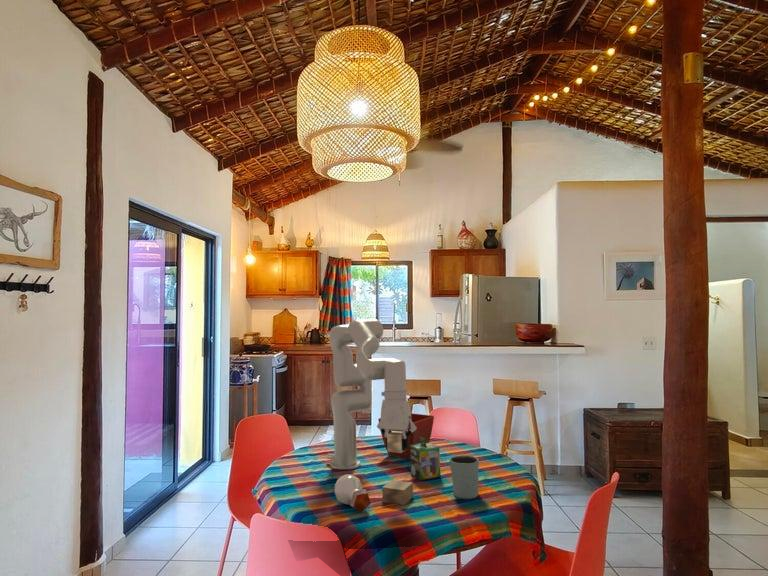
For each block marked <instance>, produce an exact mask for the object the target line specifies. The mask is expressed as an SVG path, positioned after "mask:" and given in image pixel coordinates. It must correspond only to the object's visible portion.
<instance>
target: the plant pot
mask: <svg viewBox="0 0 768 576" xmlns="http://www.w3.org/2000/svg"><path fill="white" fill-rule="evenodd" d="M434 418H435V415H429V414H421V413H412V412H411V421H412V422H413V423H414V425H415V426H416V427H417V429H416V430H415V431H414V432H413V433H412V434H411V435H410V436H409V437H408V448H407V449H406V450H405V451H403V452H402V453H396V452H388V450H387V446H386V437H385V436H384V434H383V433H382V432H381V430H379V431H380V435H381V438H382V441H383V444H384V447H385V450H386V452H387V455H388V456H390V457H394V458H395V457H396V458H402V459H407V460H410V445H415V444H421V442H420V439H419V437H421V438H424V439H425V442H426V443H430V440H431V436H432V431H433V426H434ZM380 421H381V417H380V418H378V423H379V422H380ZM407 429H408V431H409V430H410V429H411V427H410V428H407ZM392 431H401V430H392ZM392 431H391V432H392ZM422 443H424V442H423V440H422Z"/></svg>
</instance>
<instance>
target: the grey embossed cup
mask: <svg viewBox="0 0 768 576" xmlns="http://www.w3.org/2000/svg"><path fill="white" fill-rule="evenodd" d="M479 464H480V463H479V458H478V457H476V456H473V455H455V456H452V457H450V458H449V466H450V473H451V480H452V491H453V496H455V497H457V498H460V499H464V500H465V499H466V500H469V499H475V498H477V497H478V495H479V467H480V466H479Z"/></svg>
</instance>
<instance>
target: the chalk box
mask: <svg viewBox="0 0 768 576" xmlns="http://www.w3.org/2000/svg"><path fill="white" fill-rule="evenodd" d="M419 439H420V442H421V444H415V445H410V459H409V460H410V475H412V476H413V477H415V478H416V479H418V480H419V481H423V480H429V479H434V478H435V479H436V478H441V477H442V476H441V474H442V473H441V472H442V471H441V459H440V458H441V457H440V446H438V445H435V444H433V443H430V442H429V443H426V442H425V439H424V438H421V437H419ZM422 440H423V442H424V443H422Z"/></svg>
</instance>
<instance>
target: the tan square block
mask: <svg viewBox="0 0 768 576" xmlns="http://www.w3.org/2000/svg"><path fill="white" fill-rule="evenodd" d="M381 489H382V493H381V494H382V502H383V503H390V504H396V505H402V506H405V505H406V504H408V503H409V501H410V500H411V499H413V498H414V482H411V481H403V480H402V481H401V480H395V479H391V480H390V481H389V482H387V483H386V484H385V485H383V486H382V487H381Z"/></svg>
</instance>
